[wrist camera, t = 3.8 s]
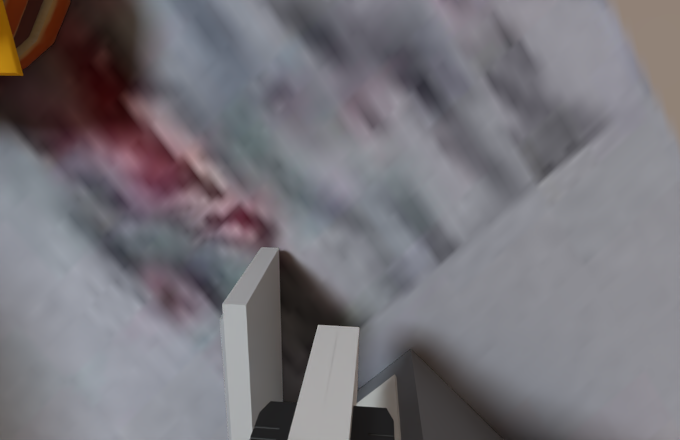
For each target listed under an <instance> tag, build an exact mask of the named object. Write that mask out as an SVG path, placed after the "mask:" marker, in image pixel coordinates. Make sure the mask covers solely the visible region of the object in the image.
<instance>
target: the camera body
mask: <svg viewBox="0 0 680 440" xmlns="http://www.w3.org/2000/svg"><path fill="white" fill-rule="evenodd" d="M356 406H364V407H379V408H387V410H388V412H389V413H390V415H391V417H392V418H393V420H394V438H395V440H503V439H502V438H501V437H500V436H499V435H498V434H497V433H496V432H495V431H494V430H493V429H492V428H491V427H490V426H489V425H488V424H487V423H486V422H485V421H484V420H483V419H482V418H481V417H480V416H479V415H478V414H477V413H476V412H475V411H474V410H473V409H472V408H471V407H470V406H469V405H468V404H467V403H465V402H464V401H463V400H462V399H461V398H460V397H459V396H458V395H457V394H456V393H455V392H454V391H453V390H452V389H451V388H450V387H449V386H448V385H447V384H446V383H445V382H444V381H443V380H442V379H441V378H440V377H439V376H438V375H437V374H436V373H435V372H434V371H433V370H432V369H431V368H430V367H429V366H428V365H427V364H426V363H425V362H424V361H422V360H421V359H420V358H419V357H418V356H417V355H416V354H415V353H414V352H413V351H412V350H411V349H410V350H409V351H408V352H406V353H405V354H404V355H402V356H401V357H400V358H399V359H397V360H396V361H395V362H393V363H392V364H391V365H390V366H388V367H387V368H386V369H384V370H383V371H382V372H380V373H379V374H378V375H377V376H375V377H374V378H373V379H371V380H370V381H369V382H368V383H366V384H365V385H364V386H362V387H361V388H360V389H359V390H357V404H356Z"/></svg>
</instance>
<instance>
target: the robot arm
mask: <svg viewBox="0 0 680 440" xmlns="http://www.w3.org/2000/svg"><path fill="white" fill-rule="evenodd" d="M358 354H359V327H347V326H329V325H318V327H317V330H316V334H315V338H314V342H313V346H312V349H311V353H310V357H309V361H308V365H307V368H306V372H305V376H304V380H303V383H302V387H301V391H300V395H299V399H298V402H297V403H291V402H277V401H270V402H269V403H268V404H267V405H266V406H265V407H264V408H263V409H262V410H261V411H260V412H259V415H258V417H257V420H256V423H255V425H254V428H253V431H252V434H251V436H250V439H249V440H395V438H394V420H393V418H392V417H391V415H390V413H389V412H388V410H387V408H379V407H364V406H356V404H357V390H358Z"/></svg>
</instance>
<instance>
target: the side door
mask: <svg viewBox="0 0 680 440" xmlns="http://www.w3.org/2000/svg"><path fill="white" fill-rule="evenodd" d="M222 306H223V314H222V316H221V318H220V331H221V345H222V359H223V373H224V388H225V402H226V416H227V430H228V440H249V439H250V436H251V434H252V431H253V428H254V425H255V423H256V420H257V417H258V415H259V412H260V411H261V410H262V409H263V408H264V407H265V406H266V405H267V404H268V403H269V402H270V401H277V402H283V379H282V342H281V305H280V268H279V248H266V247H261V249H260V250H259V251H258V253H257V254H256V256H255V257H254V259H253V260H252V262H251V263H250V265H249V266H248V267H247V269H246V270H245V272H244V273H243V275H242V276H241V278H240V279H239V281H238V282H237V283H236V285H235V286H234V288H233V289H232V291H231V292H230V294H229V295H228V297H227V298H226V299H225V301H224V302H223V304H222Z"/></svg>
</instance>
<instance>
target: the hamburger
mask: <svg viewBox="0 0 680 440" xmlns="http://www.w3.org/2000/svg"><path fill="white" fill-rule="evenodd" d="M69 5H70V0H0V75H1V76H24V75H23V72H22V69H24V68H26V67H28V66H29V65H30V64H31V63H32V62H33V61H34V60H35V59H37V58H38V57H39V56H40V55H41V54H42V53H43V52H44V51H46V50H47V49H48V48H49V47H50V46H51V45H52V44H54V41H55V39H56V37H57V34H58V32H59V29H60V27H61V24H62V22H63V20H64V17H65V15H66V12H67V10H68V8H69Z"/></svg>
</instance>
